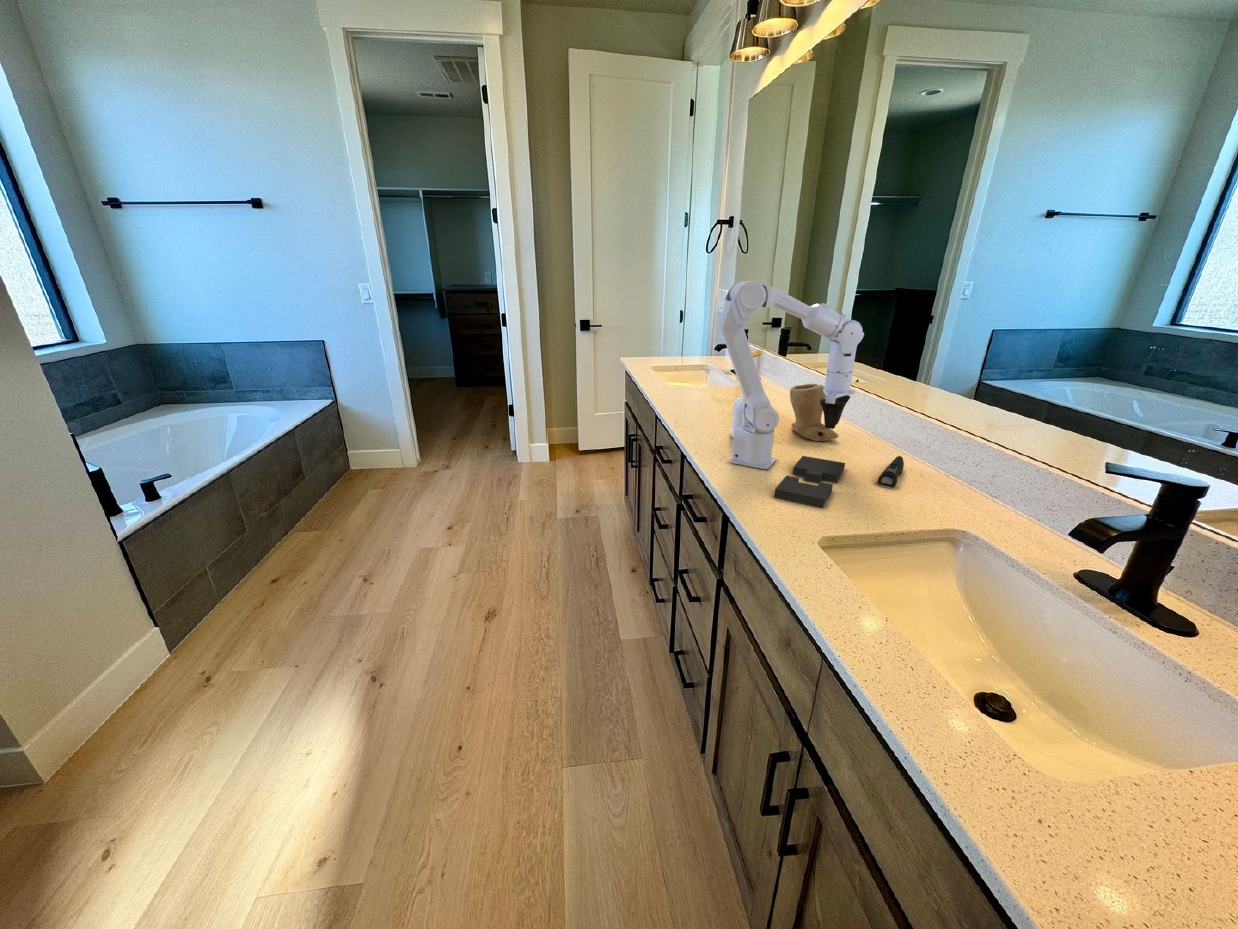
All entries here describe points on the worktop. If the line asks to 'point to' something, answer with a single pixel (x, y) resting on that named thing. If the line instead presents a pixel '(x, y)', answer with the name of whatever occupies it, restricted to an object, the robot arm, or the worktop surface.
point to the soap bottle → (740, 409)
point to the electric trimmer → (891, 473)
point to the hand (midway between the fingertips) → (831, 425)
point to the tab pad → (818, 469)
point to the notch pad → (803, 492)
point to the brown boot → (810, 412)
